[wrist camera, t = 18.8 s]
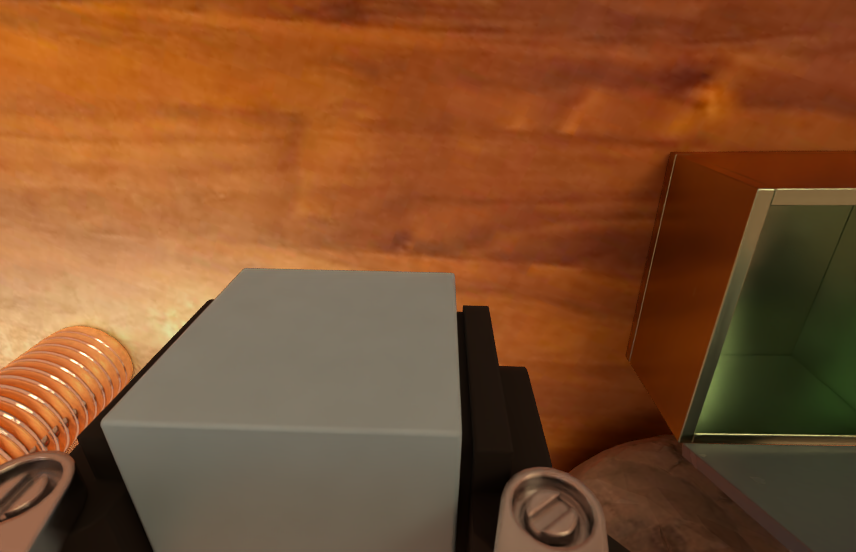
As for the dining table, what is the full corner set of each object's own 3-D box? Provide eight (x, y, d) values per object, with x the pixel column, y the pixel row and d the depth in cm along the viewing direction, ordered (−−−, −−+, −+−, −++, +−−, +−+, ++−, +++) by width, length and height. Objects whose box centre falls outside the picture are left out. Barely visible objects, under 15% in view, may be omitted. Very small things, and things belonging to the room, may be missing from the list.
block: (243, 266, 9) (95, 422, 5) (454, 271, 9) (462, 434, 5) (273, 425, 11) (181, 624, 7) (448, 430, 11) (450, 636, 7)
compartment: (669, 151, 28) (758, 188, 20) (877, 150, 28) (1050, 187, 20) (624, 356, 35) (678, 443, 27) (791, 357, 35) (894, 446, 27)
